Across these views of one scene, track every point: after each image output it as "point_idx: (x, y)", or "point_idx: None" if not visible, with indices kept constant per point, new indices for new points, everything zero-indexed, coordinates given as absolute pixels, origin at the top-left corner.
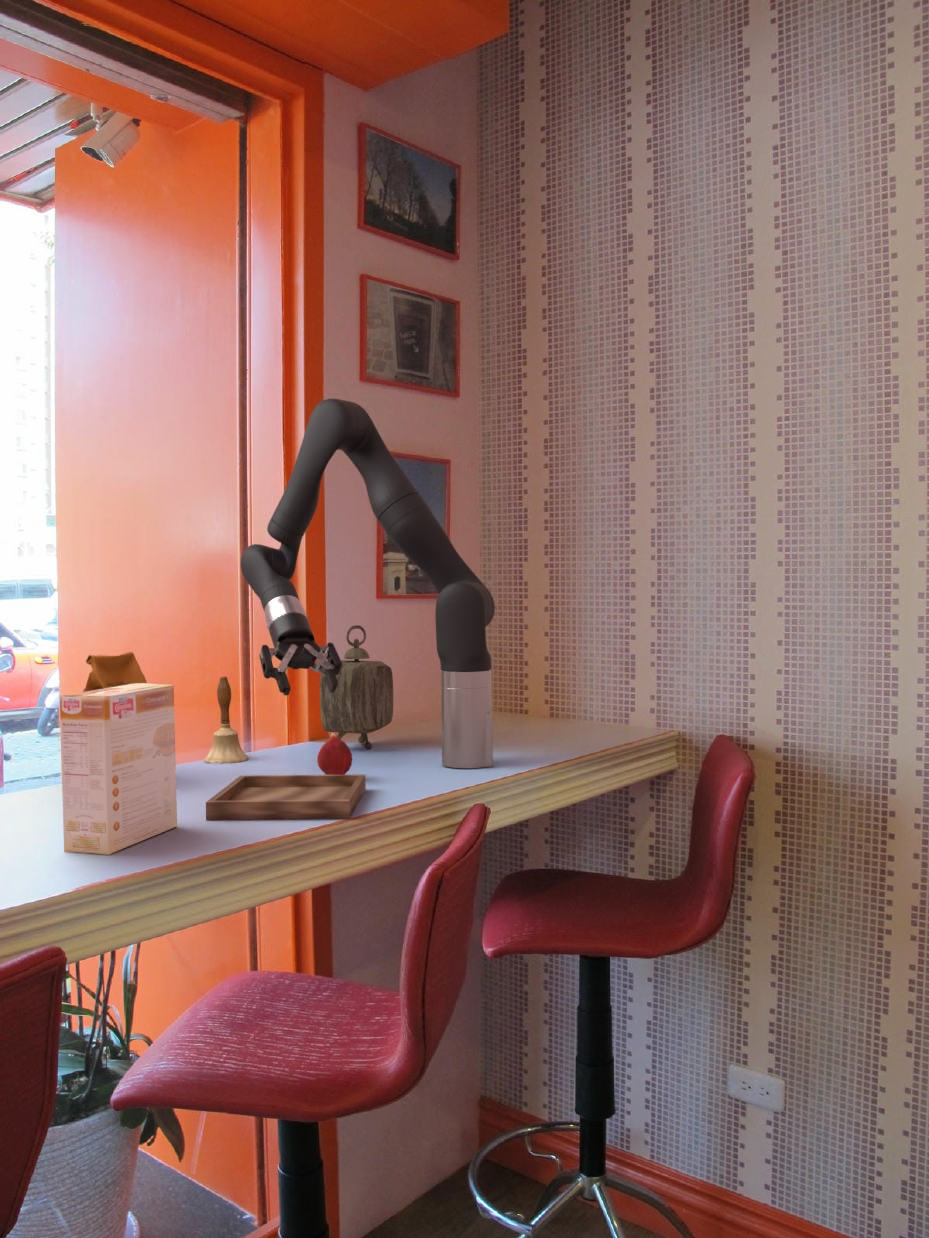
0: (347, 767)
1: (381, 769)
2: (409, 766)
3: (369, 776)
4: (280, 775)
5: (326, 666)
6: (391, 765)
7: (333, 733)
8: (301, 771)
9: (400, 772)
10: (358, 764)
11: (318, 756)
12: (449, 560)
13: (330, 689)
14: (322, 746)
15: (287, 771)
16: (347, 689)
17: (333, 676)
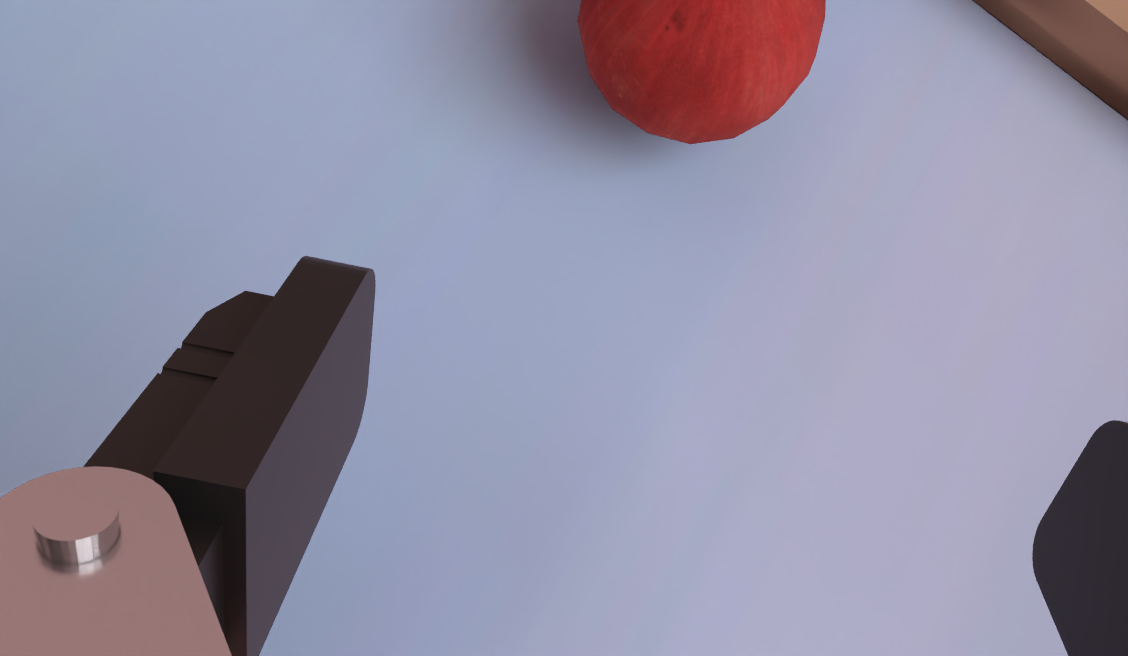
0: None
1: (232, 195)
2: (26, 153)
3: (441, 59)
4: (1108, 7)
5: (192, 567)
6: (81, 268)
7: None
8: (667, 516)
9: (218, 31)
10: None
11: (819, 38)
12: None
13: (358, 386)
14: (804, 2)
15: (740, 588)
16: None
17: (194, 407)
